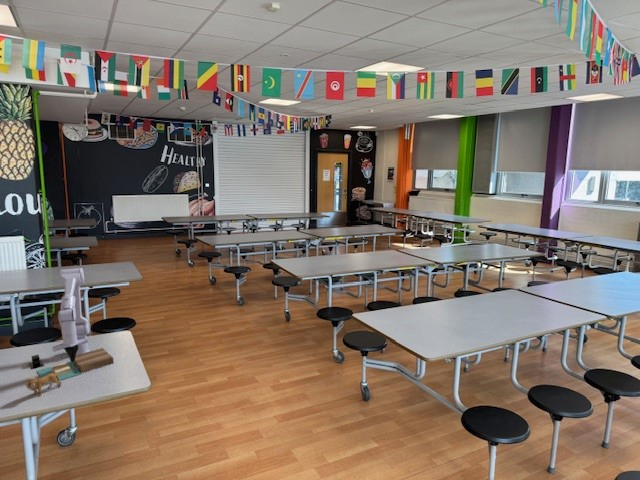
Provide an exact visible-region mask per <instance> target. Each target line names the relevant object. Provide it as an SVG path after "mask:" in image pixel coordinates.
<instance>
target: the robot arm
mask: <svg viewBox="0 0 640 480" xmlns="http://www.w3.org/2000/svg"><path fill="white" fill-rule="evenodd" d="M59 280H60V281H61V283H62V284H63V285H64V295H63V296H62V297H61V300H60V301H61V302H60V310H58V313H57V318H58V322H59V326H60V327H61V335H62V343H60V344H58V345H54V346H52V347H51V349H52V352H53V353H54V352H57V351H60V350H64V351H65V352H66V354H67V355H68V357H69V360H70V361H71V362H72V363H73V362H74V361H75V356H76V355H79V354H82V353H86V352H90V351H91V350H90V349H89V339H88V335H89V334H90V325H89V320H88V318H86V317H84V316H83V315H82V301H81V300H82V299H81V286H82V285H83V284H84V283H85V274H84V269H83V268H82V267H78V268H68V269H60V271H59Z"/></svg>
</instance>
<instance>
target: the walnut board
mask: <svg viewBox="0 0 640 480" xmlns="http://www.w3.org/2000/svg"><path fill="white" fill-rule="evenodd" d="M72 363H73V364H74V366H75V367H76V368H77V369H78V370H79V372H80V373H81V374H83V373H86V372H89V371H93V370H96V369H97V370H98V369H100V368H103V367H107V366H110V365H112V364H114V357H113V356H112V355H111V354H110V353H109V352H107V350H105V349H104V347H101V348H98V349H94V350H90V352H86V353H82V354H79V355H76V356H75V361H74V362H72Z"/></svg>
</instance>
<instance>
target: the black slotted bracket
mask: <svg viewBox="0 0 640 480" xmlns="http://www.w3.org/2000/svg"><path fill="white" fill-rule="evenodd" d="M28 366H29V368H30V370H34V369H38V368H42V367H45V364H44V361H43V359H40V355H39V354H35V355H32V356H31V362H28Z"/></svg>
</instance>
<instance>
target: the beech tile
mask: <svg viewBox="0 0 640 480" xmlns="http://www.w3.org/2000/svg"><path fill="white" fill-rule="evenodd" d="M66 362H67V361H66ZM66 362H65V361H64V362H62V363H59V364H56V365H52V366H50V367H51V370H52V372H53V373H54V374H56V375H57V376H61V375H65V374H68V373H71V368H70V367H69V366H68V365H67V364H66Z"/></svg>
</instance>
